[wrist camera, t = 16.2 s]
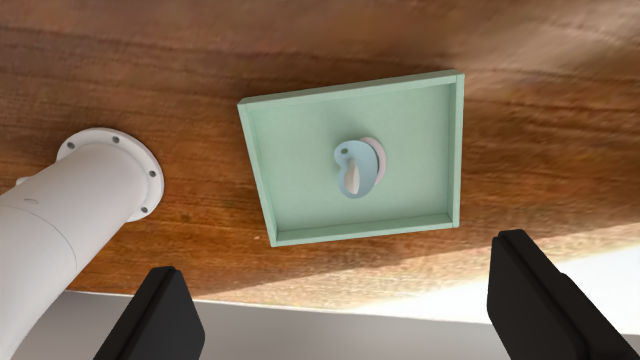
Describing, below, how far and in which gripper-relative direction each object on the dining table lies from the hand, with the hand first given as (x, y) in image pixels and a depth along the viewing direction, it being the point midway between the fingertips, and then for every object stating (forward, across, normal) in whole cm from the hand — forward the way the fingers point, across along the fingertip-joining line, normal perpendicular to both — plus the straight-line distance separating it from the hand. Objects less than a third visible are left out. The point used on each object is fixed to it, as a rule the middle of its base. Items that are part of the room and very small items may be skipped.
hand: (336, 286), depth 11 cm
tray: (+32, -2, +10) cm, 34 cm away
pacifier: (+32, -3, +10) cm, 33 cm away
